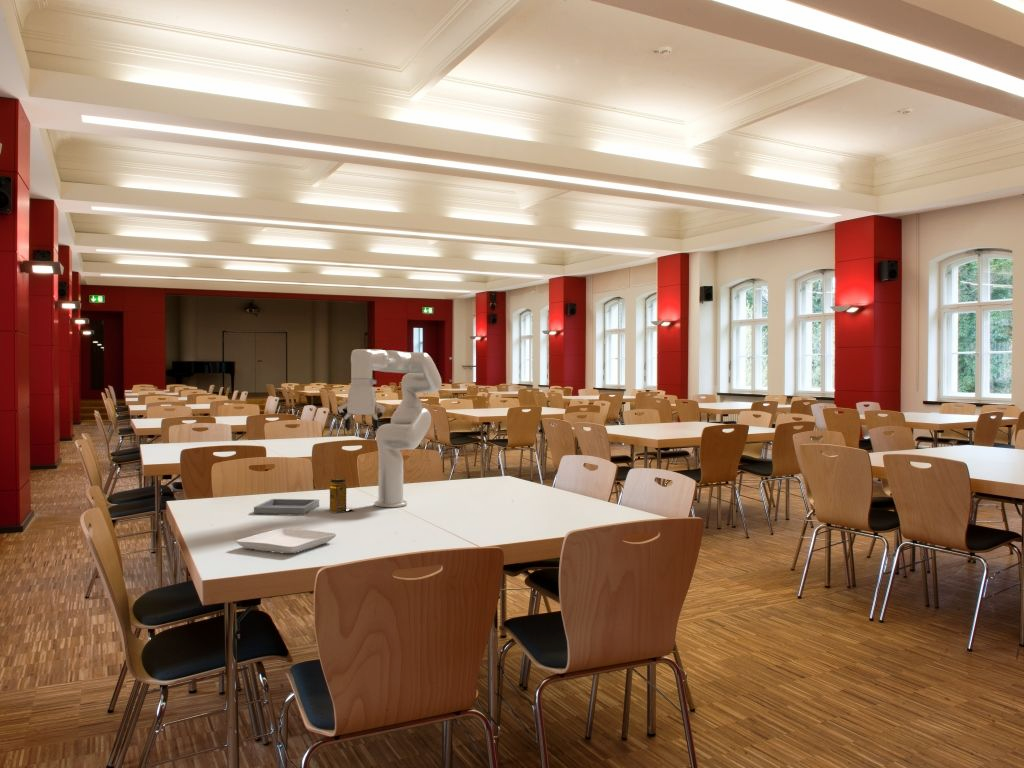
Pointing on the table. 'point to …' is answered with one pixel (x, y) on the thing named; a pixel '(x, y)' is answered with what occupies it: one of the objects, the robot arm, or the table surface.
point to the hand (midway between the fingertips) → (361, 430)
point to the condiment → (338, 495)
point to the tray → (286, 506)
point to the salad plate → (286, 540)
